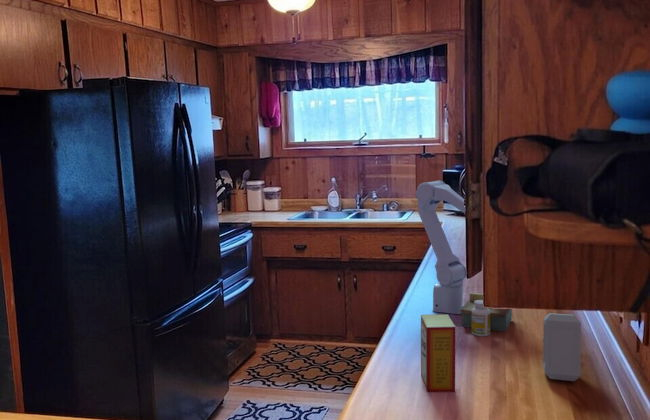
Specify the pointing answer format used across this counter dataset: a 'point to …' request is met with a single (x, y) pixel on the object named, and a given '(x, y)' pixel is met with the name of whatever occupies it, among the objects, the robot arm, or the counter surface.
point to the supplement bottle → (480, 319)
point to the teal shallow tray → (495, 322)
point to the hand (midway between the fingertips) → (493, 298)
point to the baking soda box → (438, 353)
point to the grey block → (562, 347)
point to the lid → (493, 312)
